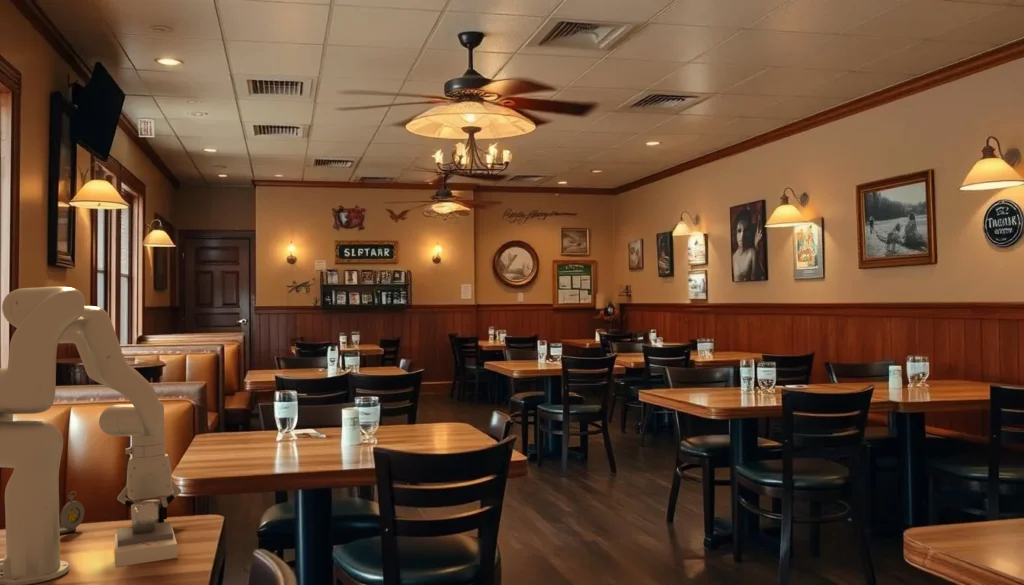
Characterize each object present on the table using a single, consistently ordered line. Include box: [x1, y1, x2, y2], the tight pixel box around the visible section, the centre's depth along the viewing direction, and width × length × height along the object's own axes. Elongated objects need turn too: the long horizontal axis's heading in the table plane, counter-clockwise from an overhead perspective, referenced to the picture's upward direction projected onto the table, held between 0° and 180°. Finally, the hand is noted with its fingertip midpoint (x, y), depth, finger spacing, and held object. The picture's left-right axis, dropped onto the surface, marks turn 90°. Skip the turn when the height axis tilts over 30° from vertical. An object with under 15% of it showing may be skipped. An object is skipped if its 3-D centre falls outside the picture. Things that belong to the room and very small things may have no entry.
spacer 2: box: [141, 499, 161, 524], centre depth 201 cm, size 5×5×6 cm
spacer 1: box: [130, 500, 156, 534], centre depth 181 cm, size 5×5×6 cm
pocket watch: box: [59, 490, 85, 535], centre depth 198 cm, size 8×8×10 cm
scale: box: [114, 521, 178, 568], centre depth 180 cm, size 12×16×4 cm
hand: (150, 523), depth 201 cm, fingers closed on spacer 2, 4 cm apart
